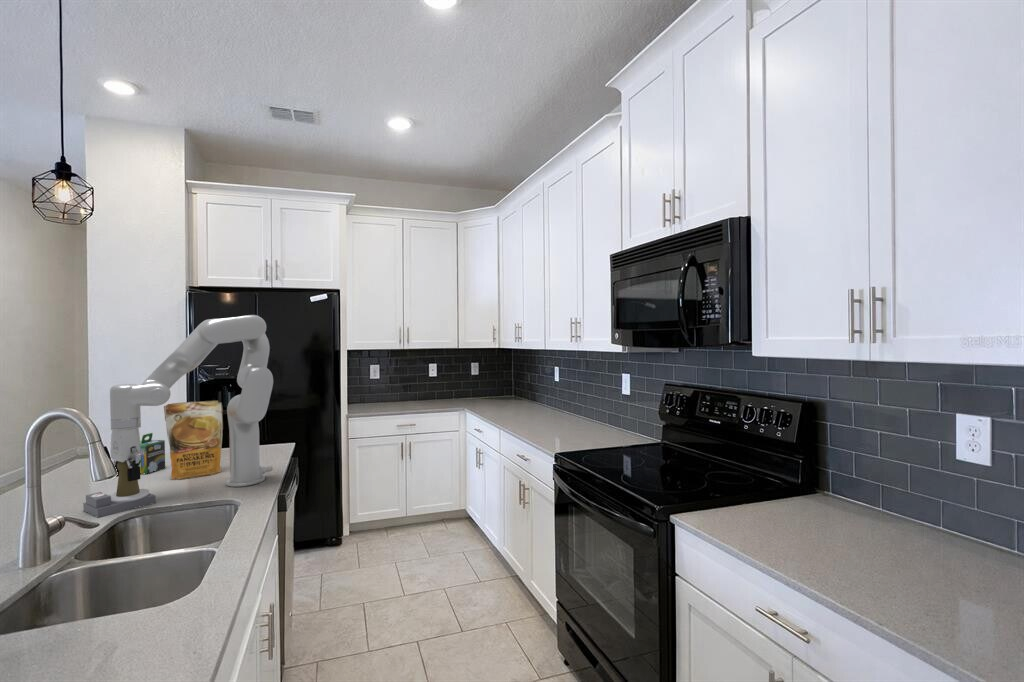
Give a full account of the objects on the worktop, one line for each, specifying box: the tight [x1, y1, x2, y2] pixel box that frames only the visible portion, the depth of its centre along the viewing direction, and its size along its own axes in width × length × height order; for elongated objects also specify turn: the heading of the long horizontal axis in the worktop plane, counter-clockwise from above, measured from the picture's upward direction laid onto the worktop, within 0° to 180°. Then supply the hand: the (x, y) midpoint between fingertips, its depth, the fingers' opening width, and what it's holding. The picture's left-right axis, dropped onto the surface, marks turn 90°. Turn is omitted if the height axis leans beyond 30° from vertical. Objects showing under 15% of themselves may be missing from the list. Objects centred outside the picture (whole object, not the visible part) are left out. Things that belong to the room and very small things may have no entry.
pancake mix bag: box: [163, 399, 224, 480], centre depth 192 cm, size 7×19×28 cm, turn 126°
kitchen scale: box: [82, 488, 157, 518], centre depth 157 cm, size 15×11×5 cm
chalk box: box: [140, 432, 166, 475], centre depth 199 cm, size 9×9×15 cm
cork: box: [115, 461, 140, 497], centre depth 159 cm, size 6×6×11 cm
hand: (127, 478), depth 159 cm, fingers open, 9 cm apart
